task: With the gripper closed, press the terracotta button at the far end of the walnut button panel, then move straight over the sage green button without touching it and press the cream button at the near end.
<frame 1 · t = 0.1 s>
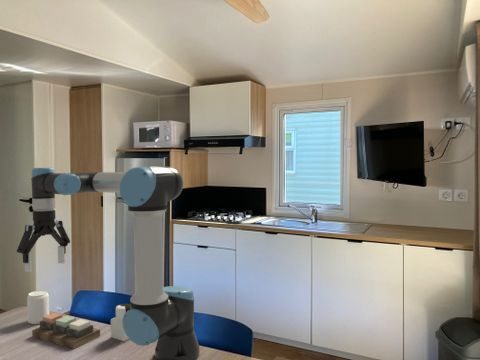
hand: (45, 267, 148), 28 cm above the table, tool pointing down, fingers open, 13 cm apart
sage button: (65, 322, 153), point 5 cm above the table, slide at 0.0 cm
button panel: (66, 336, 153), on the table
medicine bottle: (124, 336, 153), on the table
terracotta button: (52, 318, 156), point 5 cm above the table, slide at 0.0 cm
cream button: (79, 325, 149), point 5 cm above the table, slide at 0.0 cm
beverage can: (38, 321, 168), on the table
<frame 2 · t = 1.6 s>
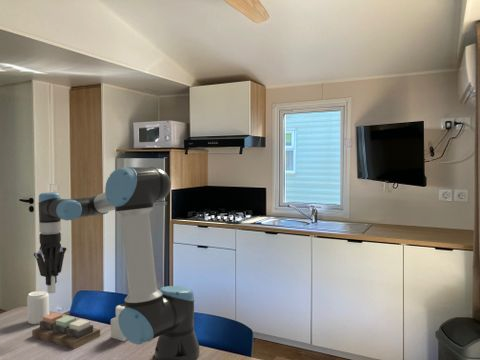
hand: (51, 292, 156), 16 cm above the table, tool pointing down, fingers closed
nothing on the table moved.
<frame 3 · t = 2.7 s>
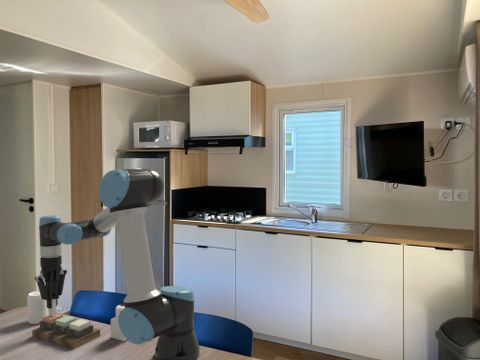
hand: (52, 315, 156), 7 cm above the table, tool pointing down, fingers closed
terracotta button: (52, 319, 156), point 5 cm above the table, slide at 0.2 cm, touching gripper
everything else where it was.
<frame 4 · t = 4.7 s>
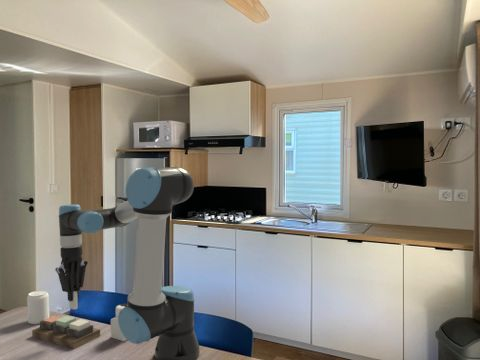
hand: (73, 308, 150), 12 cm above the table, tool pointing down, fingers closed
terracotta button: (52, 322, 156), point 4 cm above the table, slide at 1.3 cm
everything else where it was.
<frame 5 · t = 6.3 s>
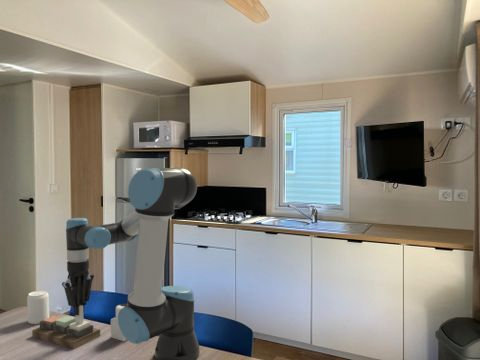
hand: (79, 322, 149), 7 cm above the table, tool pointing down, fingers closed
cream button: (79, 326, 149), point 5 cm above the table, slide at 0.3 cm, touching gripper
everything else where it was.
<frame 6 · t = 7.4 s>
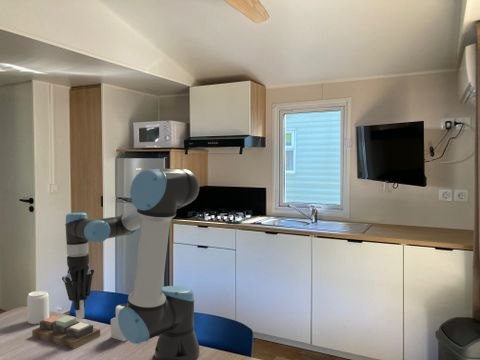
hand: (80, 317, 149), 9 cm above the table, tool pointing down, fingers closed
cream button: (79, 329, 149), point 4 cm above the table, slide at 1.3 cm
everything else where it was.
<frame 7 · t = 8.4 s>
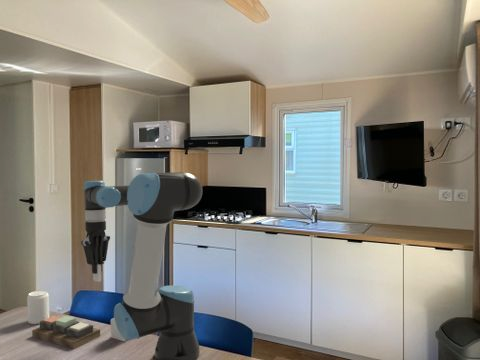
hand: (97, 281, 156), 20 cm above the table, tool pointing down, fingers closed
nothing on the table moved.
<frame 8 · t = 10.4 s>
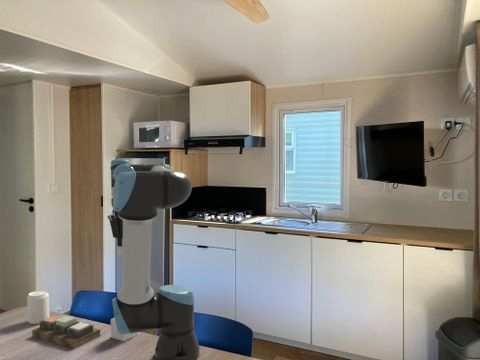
hand: (122, 253, 166), 28 cm above the table, tool pointing down, fingers closed
nothing on the table moved.
at the end: terracotta button slide at 1.3 cm; cream button slide at 1.3 cm; sage button slide at 0.0 cm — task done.
